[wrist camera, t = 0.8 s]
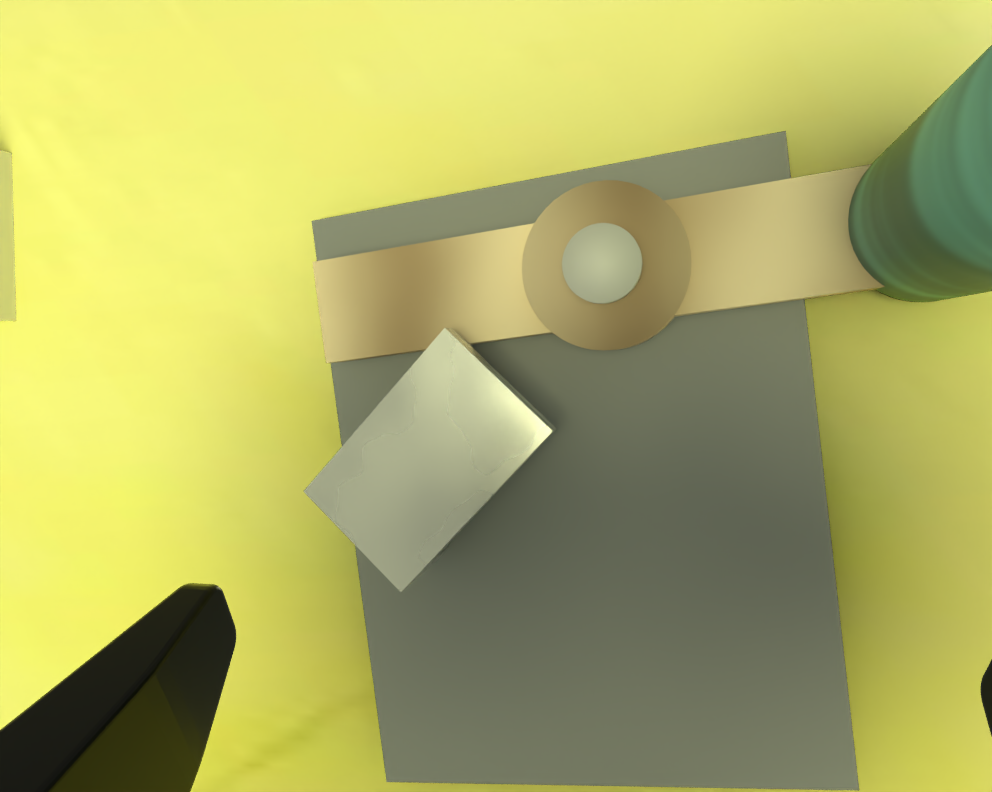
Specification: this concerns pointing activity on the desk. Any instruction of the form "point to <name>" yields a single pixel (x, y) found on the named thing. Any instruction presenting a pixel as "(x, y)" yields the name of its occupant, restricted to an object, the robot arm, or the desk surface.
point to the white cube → (7, 240)
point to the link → (695, 248)
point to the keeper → (428, 458)
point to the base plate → (620, 535)
